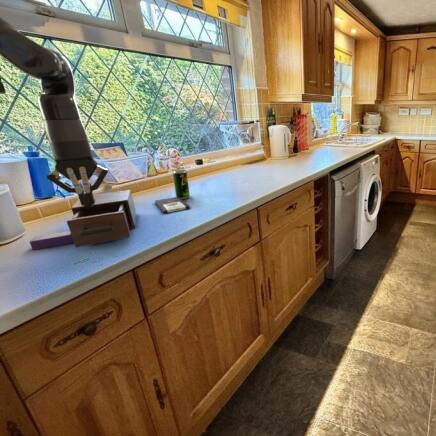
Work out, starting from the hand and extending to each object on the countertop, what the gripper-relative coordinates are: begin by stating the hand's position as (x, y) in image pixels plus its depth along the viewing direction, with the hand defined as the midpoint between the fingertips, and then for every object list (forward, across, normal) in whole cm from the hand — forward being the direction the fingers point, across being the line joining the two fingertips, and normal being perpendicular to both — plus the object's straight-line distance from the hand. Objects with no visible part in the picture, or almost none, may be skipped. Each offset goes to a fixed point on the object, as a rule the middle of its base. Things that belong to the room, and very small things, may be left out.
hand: (89, 206), depth 80 cm
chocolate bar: (+12, -19, -34) cm, 40 cm away
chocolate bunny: (+12, +2, -47) cm, 49 cm away
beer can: (+12, -24, -44) cm, 51 cm away
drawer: (+11, 0, -7) cm, 13 cm away
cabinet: (+12, 0, -20) cm, 24 cm away
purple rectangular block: (+12, +13, -11) cm, 21 cm away
